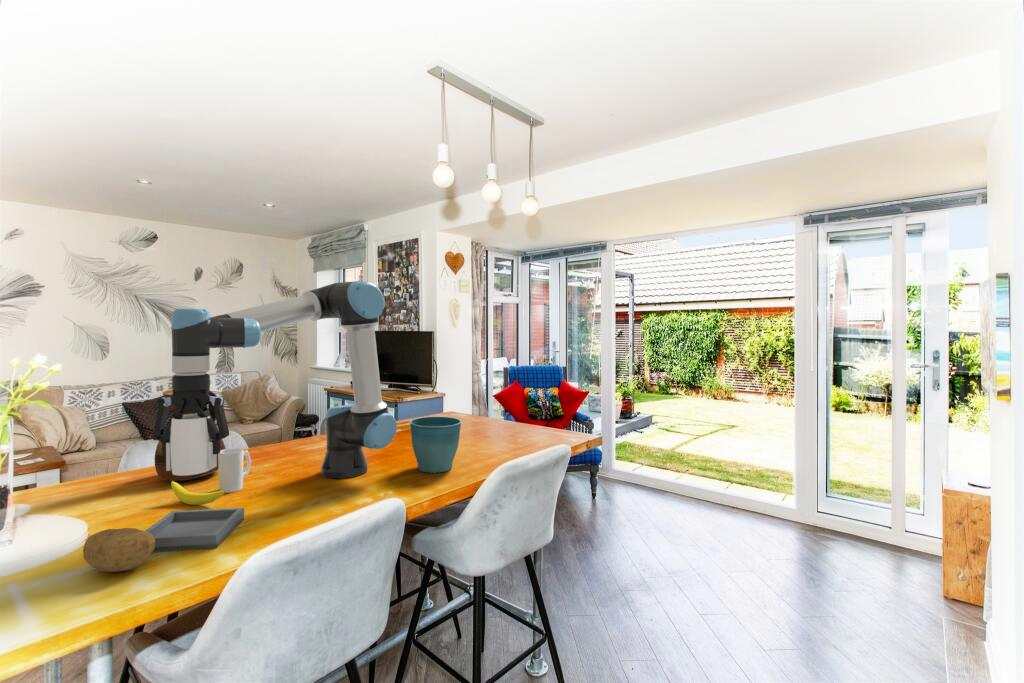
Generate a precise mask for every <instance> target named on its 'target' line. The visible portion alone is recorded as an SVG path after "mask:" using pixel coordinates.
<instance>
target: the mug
mask: <svg viewBox="0 0 1024 683" xmlns="http://www.w3.org/2000/svg"><path fill="white" fill-rule="evenodd" d="M244 457H245V458H246V466H245V469H244ZM251 465H252V459H251V456H250V453H249V450H248V449H246V450H244V448H241V447H233V448H226V449H224V450H221V451H220V453H219V454H218V467H219V469H218V487H219V491H225V493H224V494H229V493H231V494H232V493H237V492H239V491H241V490H243V487H244V478H245V477H248V475H249V472H250V470H251Z"/></svg>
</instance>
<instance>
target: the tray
mask: <svg viewBox="0 0 1024 683" xmlns="http://www.w3.org/2000/svg"><path fill="white" fill-rule="evenodd" d="M244 520H245V507H230V508H227V507H226V508H212V509H211V508H207V509H206V508H205V509H190V510H189V509H188V510H172V511H171V512H169V513H168V514H165V516H163V517H162V518H161V519H159V520H158V521H157V522H155V523H154V524H152V525H150V526H149V527H148V528H147V529H145V530H144V531H146V532H150V533H151V534H152V535H153V536H154V539H155V547H154V550H153V551H152V553H156V552H158V553H159V552H171V551H172V552H173V551H188V550H204V549H205V550H206V549H207V550H208V549H217V548H218V547H219V546H220V545H221V544H222V543H223V542H224V541H225V540H226V539H227V537H229V536H230V534H231V533H233V531H234V530H236V528H237V527H238V526H239V525H240V524H241V523H242V522H243V521H244Z"/></svg>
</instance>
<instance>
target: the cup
mask: <svg viewBox="0 0 1024 683" xmlns="http://www.w3.org/2000/svg"><path fill="white" fill-rule="evenodd" d="M207 418H210V416H208V417H207ZM171 419H172V422H171V435H170V448H171V466H172V474H173V475H179V476H185V475H195V474H200V473H204V472H207V471H209V470H210V469H208V442H210V441H211V440H212V439H211V437H210V435H209V433H208V430H207V420H206V417H204V418H200V417H199V416H198V414H197V413H196V414H190V415H183V417H182V419H174V418H172V417H171Z"/></svg>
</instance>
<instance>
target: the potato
mask: <svg viewBox="0 0 1024 683" xmlns="http://www.w3.org/2000/svg"><path fill="white" fill-rule="evenodd" d="M154 547H155V539H154V536H153V535H152V534H151V533H150V532H146V531H145V530H141V529H138V528H136V527H124V528H123V527H122V528H112V529H111V528H107V529H105V530H104V529H103V530H100V531H98V532H96V533H94V534H92V535H90V536H89V537H87V539H86V540H85V542H84V545H83V550H82V553H83V559H84V561H85V562H86V564H88V565H89V566H90V567H92V568H93V569H95V570H97V571H101V572H108V573H110V572H112V573H114V572H117V573H118V572H119V573H121V572H125V571H131V570H134V569H135V568H137V567H138V566H140V565H142V564H144V563H145V562H146V561H147V560H148V559H149V558H150V557H151V555H152V553H153V552H152V551H153V550H154Z"/></svg>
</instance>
